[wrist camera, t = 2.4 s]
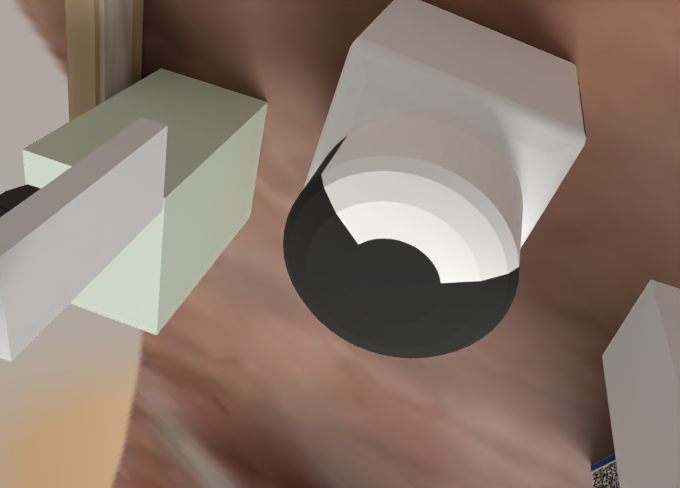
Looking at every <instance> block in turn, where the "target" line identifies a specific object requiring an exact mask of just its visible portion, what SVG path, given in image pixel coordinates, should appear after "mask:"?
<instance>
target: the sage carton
mask: <svg viewBox="0 0 680 488" xmlns="http://www.w3.org/2000/svg"><path fill="white" fill-rule="evenodd" d="M267 104H268V102H266V101H262V100H259V99H256V98H253V97H250V96H247V95H244V94H240V93H237V92H234V91H231V90H228V89H225V88H222V87H219V86H215V85H212V84H209V83H206V82H203V81H200V80H197V79H193V78H190V77H187V76H184V75H181V74H178V73H175V72H172V71H168V70H165V69H162V68H161V69H159V70H157V71H155V72H154V73H152V74H150V75H149V76H147V77H145V78H144V79H142V80H140V81H138V82H137V83H135V84H133V85H132V86H130V87H128V88H126V89H125V90H123V91H121V92H120V93H118V94H116V95H115V96H113V97H111V98H109V99H108V100H106V101H104V102H103V103H101V104H99V105H98V106H96V107H94V108H92V109H91V110H89V111H87V112H86V113H84V114H82V115H81V116H79V117H77V118H75V119H74V120H72V121H70V122H69V123H67V124H65V125H63V126H62V127H60V128H58V129H57V130H55V131H53V132H52V133H50V134H48V135H46V136H45V137H43V138H41V139H40V140H38V141H36V142H35V143H33V144H31V145H29V146H28V147H26V148H24V149H23V160H24V172H25V182H26V185H27V184H29V185H32V186H35V187H38V188H43V187H44V186H45V185H47V184H48V183H50V182H51V181H52V180H54V179H55V178H57V177H58V176H59V175H61V174H62V173H64V172H65V171H66V170H68V169H69V168H71V167H72V166H73V165H75V164H76V163H78V162H79V161H81V160H82V159H83V158H85V157H86V156H88V155H89V154H90V153H92V152H93V151H95V150H96V149H97V148H99V147H100V146H102V145H103V144H104V143H106V142H107V141H109V140H110V139H112V138H113V137H114V136H116V135H117V134H119V133H120V132H121V131H123V130H124V129H126V128H127V127H128V126H130V125H131V124H133V123H134V122H135V121H137V120H138V119H140V118H141V117H143V118H146V119H149V120H152V121H155V122H158V123H161V124H164V125H168V129H167V145H166V162H165V179H164V196H163V210H162V211H161V212H160V213H159V214H158V215H157V216H156V217H155V218H154V219H153V220H152V221H151V222H150V223H149V224H148V225H147V226H146V227H145V228H144V229H143V230H142V231H141V232H140V233H139V234H138V235H137V236H136V237H135V238H134V239H133V240H132V241H131V242H130V243H129V244H128V245H127V246H126V247H125V248H124V249H123V250H122V251H121V252H120V253H119V254H118V255H117V256H116V257H115V258H114V259H113V260H112V261H111V262H110V263H109V264H108V265H107V266H106V267H105V268H104V269H103V270H102V271H101V272H100V273H99V274H98V275H97V276H96V277H95V278H94V279H93V280H92V281H91V282H90V283H89V284H88V285H87V286H86V287H85V288H84V289H83V290H82V291H81V292H80V293H79V295H78V296H77V297H76V298H75V299H74V300H73V301H72V302H71V303H70V304H73V305H76V306H79V307H81V308H84V309H87V310H89V311H92V312H95V313H98V314H100V315H103V316H106V317H108V318H111V319H114V320H117V321H119V322H122V323H125V324H128V325H130V326H133V327H136V328H138V329H141V330H144V331H147V332H149V333H152V334H155V335H157V334H158V333H159V332H160V330H161V329H162V328H163V327H164V325H165V324H166V323H167V322H168V320H169V319H170V318H171V316H172V315H173V314H174V313H175V311H176V310H177V309H178V308H179V306H180V305H181V304H182V303H183V301H184V300H185V299H186V298H187V296H188V295H189V294H190V292H191V291H192V290H193V289H194V287H195V286H196V285H197V284H198V282H199V281H200V280H201V279H202V277H203V276H204V275H205V273H206V272H207V271H208V270H209V268H210V267H211V266H212V265H213V263H214V262H215V261H216V260H217V258H218V257H219V256H220V254H221V253H222V252H223V251H224V249H225V248H226V247H227V246H228V244H229V243H230V242H231V241H232V239H233V238H234V237H235V236H236V234H237V233H238V232H239V230H240V229H241V228H242V227H243V225H244V224H245V223H246V222H247V220H248V219H249V218H250V214H251V208H252V201H253V195H254V188H255V182H256V175H257V169H258V162H259V156H260V149H261V143H262V136H263V130H264V123H265V117H266V111H267Z"/></svg>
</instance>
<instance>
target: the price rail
mask: <svg viewBox="0 0 680 488" xmlns="http://www.w3.org/2000/svg"><path fill="white" fill-rule="evenodd" d="M143 5H144V0H65V17H66V43H67V69H68V93H69V94H68V95H69V119H70V121H72V120H74V119H75V118H77V117H79V116H81V115H82V114H84V113H86V112H87V111H89V110H91V109H92V108H94V107H96V106H98V105H99V104H101V103H103V102H104V101H106V100H108V99H109V98H111V97H113V96H115V95H116V94H118V93H120V92H121V91H123V90H125V89H126V88H128V87H130V86H132V85H133V84H135V83H137V82H138V81H140V80H141V69H142V37H143Z"/></svg>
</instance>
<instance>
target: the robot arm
mask: <svg viewBox="0 0 680 488" xmlns="http://www.w3.org/2000/svg"><path fill="white" fill-rule="evenodd" d="M167 129H168V125H164V124H161V123H158V122H155V121H152V120H149V119H146V118H143V117H141V118H140V119H138V120H137V121H135V122H134V123H133V124H131V125H130V126H128V127H127V128H126V129H124V130H123V131H121V132H120V133H119V134H117V135H116V136H114V137H113V138H112V139H110V140H109V141H107V142H106V143H104V144H103V145H102V146H100V147H99V148H97V149H96V150H95V151H93V152H92V153H90V154H89V155H88V156H86V157H85V158H83V159H82V160H81V161H79V162H78V163H76V164H75V165H73V166H72V167H71V168H69V169H68V170H66V171H65V172H64V173H62V174H61V175H59V176H58V177H57V178H55V179H54V180H52V181H51V182H50V183H48V184H47V185H45V186H44V187H43V188H38V187H35V186H32V185H29V184H27V185H24V186H21V187H18V188H15V189H12V190H8V191H6V192H4V193H2V194H1V195H0V358H2V359H5V360H8V361H13V360H14V359H15V357H16V356H18V355H19V354H20V352H21V351H22V350H24V349H25V348H26V347H27V345H29V344H30V343H31V342H32V341H33V339H35V338H36V337H37V335H38V334H40V333H41V332H42V331H43V329H45V328H46V327H47V325H49V323H51V321H53V320H54V318H56V317H57V315H59V313H60V312H62V310H64V309H65V308H66V307H67V306H68V304H70V303H71V302H72V301H73V300H74V299H75V298H76V297H77V296H78V295H79V293H80V292H81V291H82V290H83V289H84V288H85V287H86V286H87V285H88V284H89V283H90V282H91V281H92V280H93V279H94V278H95V277H96V276H97V275H98V274H99V273H100V272H101V271H102V270H103V269H104V268H105V267H106V266H107V265H108V264H109V263H110V262H111V261H112V260H113V259H114V258H115V257H116V256H117V255H118V254H119V253H120V252H121V251H122V250H123V249H124V248H125V247H126V246H127V245H128V244H129V243H130V242H131V241H132V240H133V239H134V238H135V237H136V236H137V235H138V234H139V233H140V232H141V231H142V230H143V229H144V228H145V227H146V226H147V225H148V224H149V223H150V222H151V221H152V220H153V219H154V218H155V217H156V216H157V215H158V214H159V213H160V212H161V211H162V210H163V196H164V179H165V162H166V145H167ZM602 360H603V368H604V375H605V382H606V390H607V397H608V405H609V412H610V419H611V427H612V434H613V442H614V449H615V457H616V464H617V471H618V479H619V486H620V488H680V289H679V288H676V287H673V286H670V285H667V284H664V283H660V282H657V281H654V280H651V279H650V281H649V282H648V284H647V286H646V287H645V289H644V290H643V292H642V294H641V295H640V297H639V298H638V300H637V301H636V303H635V305H634V306H633V308H632V309H631V311H630V312H629V314H628V316H627V317H626V319H625V320H624V322H623V323H622V325H621V327H620V328H619V330H618V331H617V333H616V334H615V336H614V338H613V339H612V341H611V342H610V344H609V345H608V347H607V349H606V350H605V352H604V353H603V355H602Z"/></svg>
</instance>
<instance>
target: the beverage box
mask: <svg viewBox="0 0 680 488" xmlns="http://www.w3.org/2000/svg"><path fill="white" fill-rule="evenodd" d="M591 475H592V488H620V486H619V479H618V471H617V464H616V457H615V453H614V454H612V455H610V456H608V457H606V458H604V459H602V460H600V461H598V462H596V463H594V464H592V465H591Z"/></svg>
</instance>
